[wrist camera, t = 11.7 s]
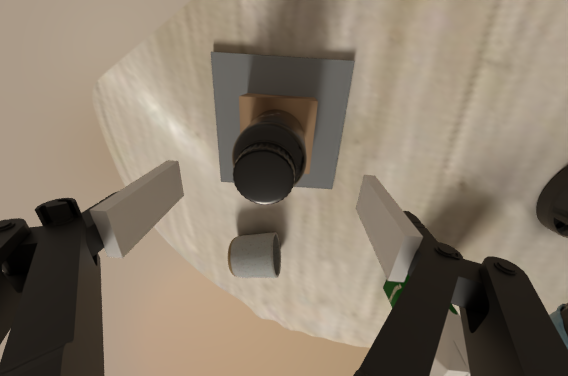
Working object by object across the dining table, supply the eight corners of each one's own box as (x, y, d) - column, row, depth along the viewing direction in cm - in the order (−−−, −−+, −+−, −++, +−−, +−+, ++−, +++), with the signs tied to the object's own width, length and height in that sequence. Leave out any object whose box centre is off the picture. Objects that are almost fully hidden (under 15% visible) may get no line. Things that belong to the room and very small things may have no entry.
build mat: (352, 61, 28) (354, 60, 28) (331, 186, 37) (332, 189, 36) (213, 52, 29) (210, 51, 28) (222, 179, 37) (221, 181, 36)
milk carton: (418, 294, 47) (493, 426, 30) (376, 290, 47) (426, 419, 30) (435, 264, 43) (534, 396, 26) (389, 259, 43) (456, 388, 26)
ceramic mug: (232, 228, 41) (220, 259, 35) (275, 223, 40) (272, 254, 34) (246, 268, 46) (238, 302, 39) (285, 264, 45) (283, 299, 39)
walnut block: (314, 97, 30) (317, 101, 25) (307, 160, 34) (309, 174, 29) (247, 93, 30) (238, 96, 25) (248, 157, 34) (241, 169, 29)
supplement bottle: (265, 96, 25) (245, 111, 14) (315, 128, 27) (329, 164, 16) (238, 146, 28) (204, 190, 17) (284, 173, 29) (279, 229, 19)
